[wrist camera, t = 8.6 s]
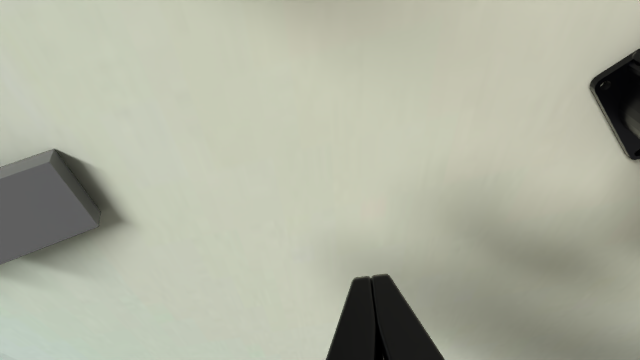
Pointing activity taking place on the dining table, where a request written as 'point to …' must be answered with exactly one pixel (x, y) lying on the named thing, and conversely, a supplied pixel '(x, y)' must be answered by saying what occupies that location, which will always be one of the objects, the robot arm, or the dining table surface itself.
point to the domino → (41, 205)
